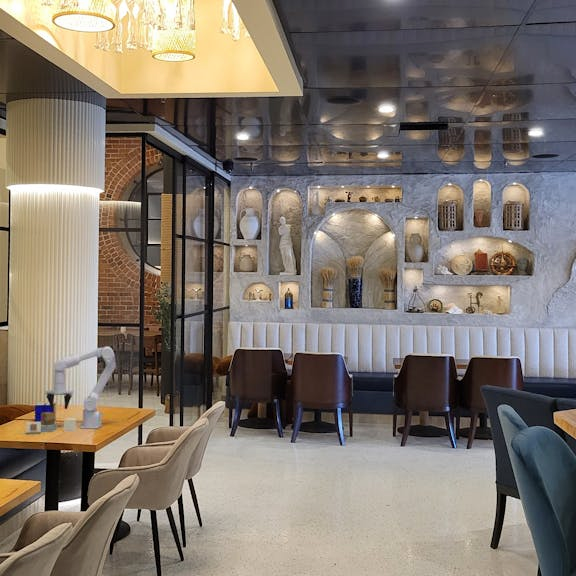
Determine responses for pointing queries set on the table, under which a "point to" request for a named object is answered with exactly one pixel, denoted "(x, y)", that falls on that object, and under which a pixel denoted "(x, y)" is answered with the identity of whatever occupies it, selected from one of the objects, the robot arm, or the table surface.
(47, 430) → the base block
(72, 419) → the off-white block
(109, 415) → the table surface
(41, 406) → the puzzle cube
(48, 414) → the walnut block
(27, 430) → the cream-edged tan board
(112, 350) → the robot arm
